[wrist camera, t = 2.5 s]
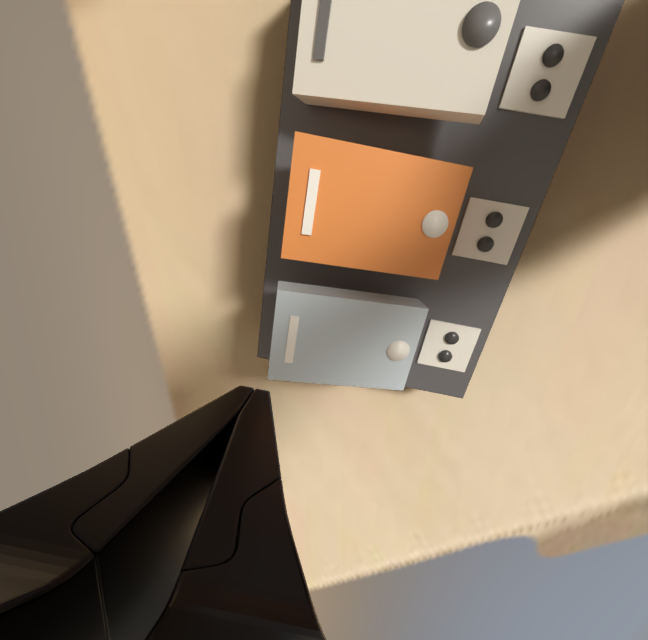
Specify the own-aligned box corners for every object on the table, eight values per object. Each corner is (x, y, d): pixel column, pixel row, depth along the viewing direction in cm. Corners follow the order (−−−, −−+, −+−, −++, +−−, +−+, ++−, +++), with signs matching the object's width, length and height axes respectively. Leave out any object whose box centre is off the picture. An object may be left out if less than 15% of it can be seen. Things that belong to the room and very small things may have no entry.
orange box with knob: (456, 168, 14) (474, 167, 12) (425, 271, 15) (439, 280, 14) (294, 135, 13) (295, 130, 11) (281, 251, 14) (280, 258, 13)
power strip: (578, 21, 14) (647, -32, 11) (449, 370, 21) (465, 404, 17) (310, -20, 14) (294, -84, 11) (270, 335, 21) (254, 362, 18)
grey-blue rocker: (417, 298, 16) (429, 309, 15) (395, 375, 18) (403, 391, 16) (278, 280, 15) (277, 290, 14) (268, 364, 17) (267, 380, 15)
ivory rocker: (530, -43, 10) (545, -81, 9) (479, 124, 12) (485, 114, 10) (322, -44, 12) (308, -75, 10) (305, 104, 13) (291, 93, 12)
